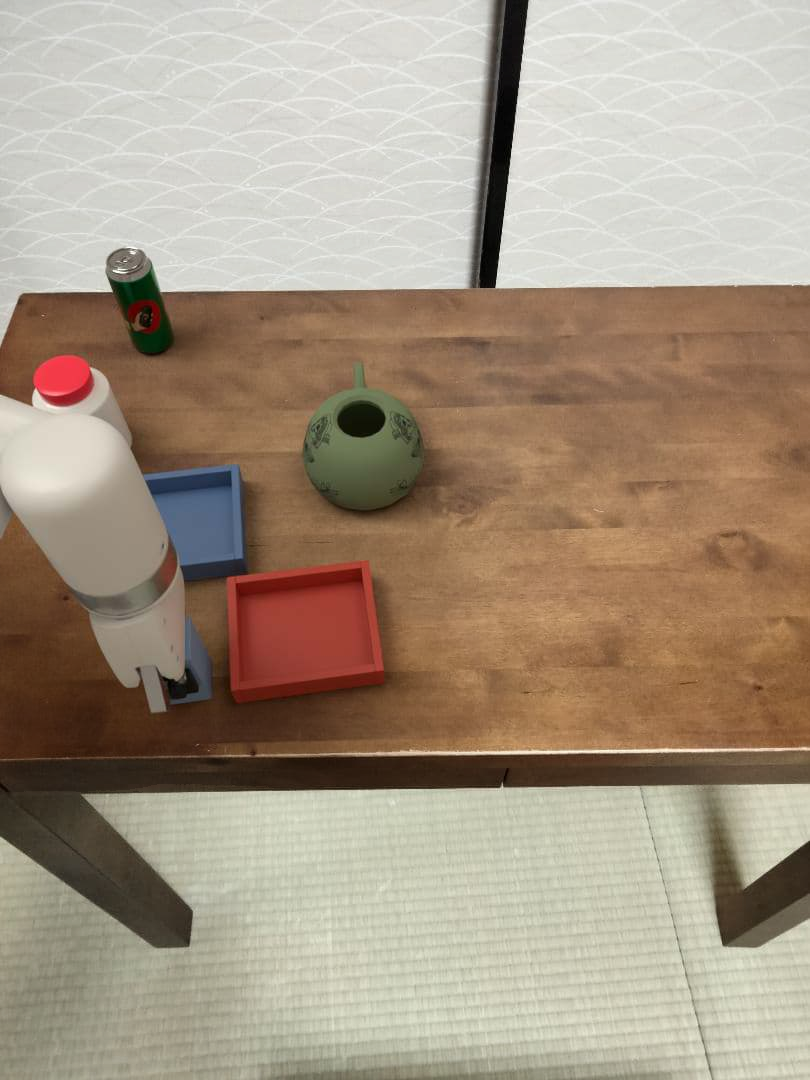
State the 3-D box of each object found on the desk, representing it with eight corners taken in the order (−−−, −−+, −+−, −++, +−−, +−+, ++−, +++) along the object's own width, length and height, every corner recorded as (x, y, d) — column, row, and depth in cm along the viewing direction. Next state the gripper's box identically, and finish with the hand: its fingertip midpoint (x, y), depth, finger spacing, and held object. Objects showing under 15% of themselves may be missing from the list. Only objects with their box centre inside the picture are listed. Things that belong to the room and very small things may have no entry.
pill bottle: (56, 429, 91) (17, 358, 82) (125, 410, 93) (94, 339, 83) (66, 481, 87) (26, 413, 78) (138, 461, 89) (107, 392, 79)
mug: (429, 515, 85) (431, 464, 78) (305, 522, 85) (295, 471, 77) (417, 399, 94) (418, 344, 86) (304, 405, 93) (296, 350, 86)
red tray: (236, 703, 74) (230, 691, 72) (232, 592, 80) (226, 577, 78) (384, 683, 75) (384, 670, 73) (369, 575, 81) (368, 559, 79)
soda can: (184, 336, 99) (159, 254, 89) (156, 362, 97) (127, 281, 86) (152, 320, 100) (124, 238, 90) (124, 345, 98) (92, 264, 88)
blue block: (167, 705, 74) (140, 665, 66) (168, 665, 76) (142, 621, 68) (212, 699, 74) (190, 659, 67) (211, 659, 76) (190, 615, 69)
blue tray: (109, 590, 80) (99, 575, 78) (114, 495, 86) (105, 478, 84) (247, 573, 81) (242, 558, 79) (243, 480, 87) (238, 463, 85)
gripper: (73, 472, 61) (140, 589, 76) (55, 680, 52) (135, 765, 68) (175, 460, 61) (221, 579, 77) (174, 664, 53) (226, 753, 68)
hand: (180, 665), depth 72 cm, fingers closed on blue block, 4 cm apart
